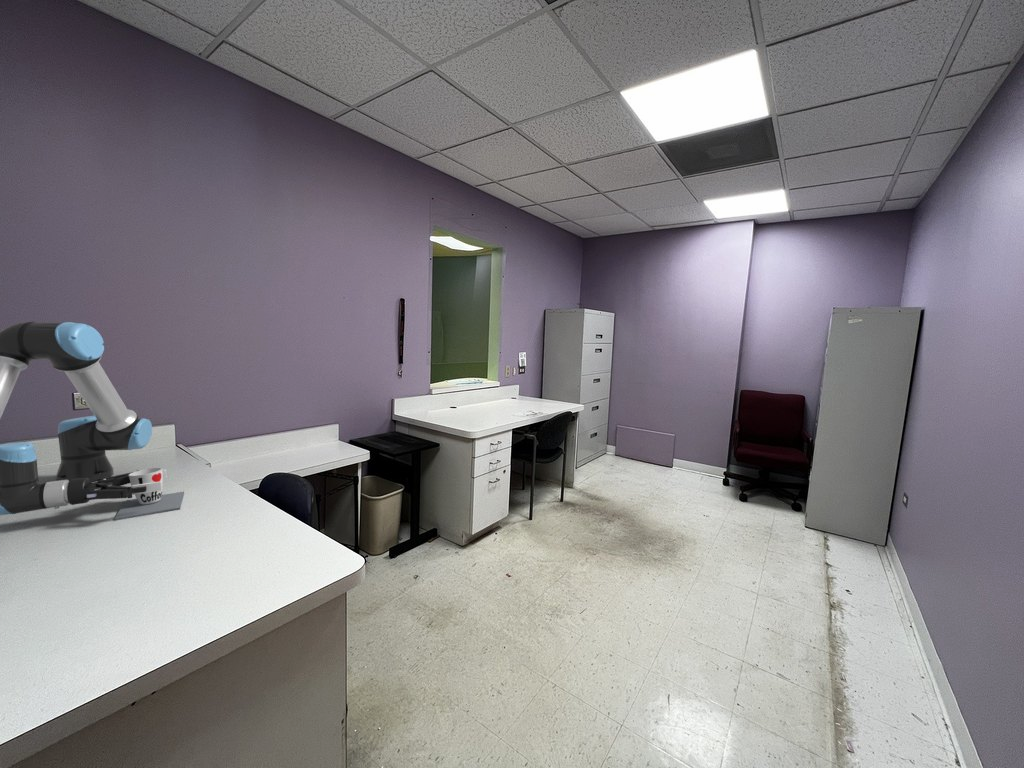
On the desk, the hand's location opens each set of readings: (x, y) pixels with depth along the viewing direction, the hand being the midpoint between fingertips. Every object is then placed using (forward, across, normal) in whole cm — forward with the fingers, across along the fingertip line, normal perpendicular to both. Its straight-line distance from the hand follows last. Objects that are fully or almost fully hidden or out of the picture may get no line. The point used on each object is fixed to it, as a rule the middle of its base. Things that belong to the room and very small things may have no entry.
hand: (163, 479), depth 133 cm
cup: (-4, -2, -8) cm, 9 cm away
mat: (-3, 0, -8) cm, 9 cm away
